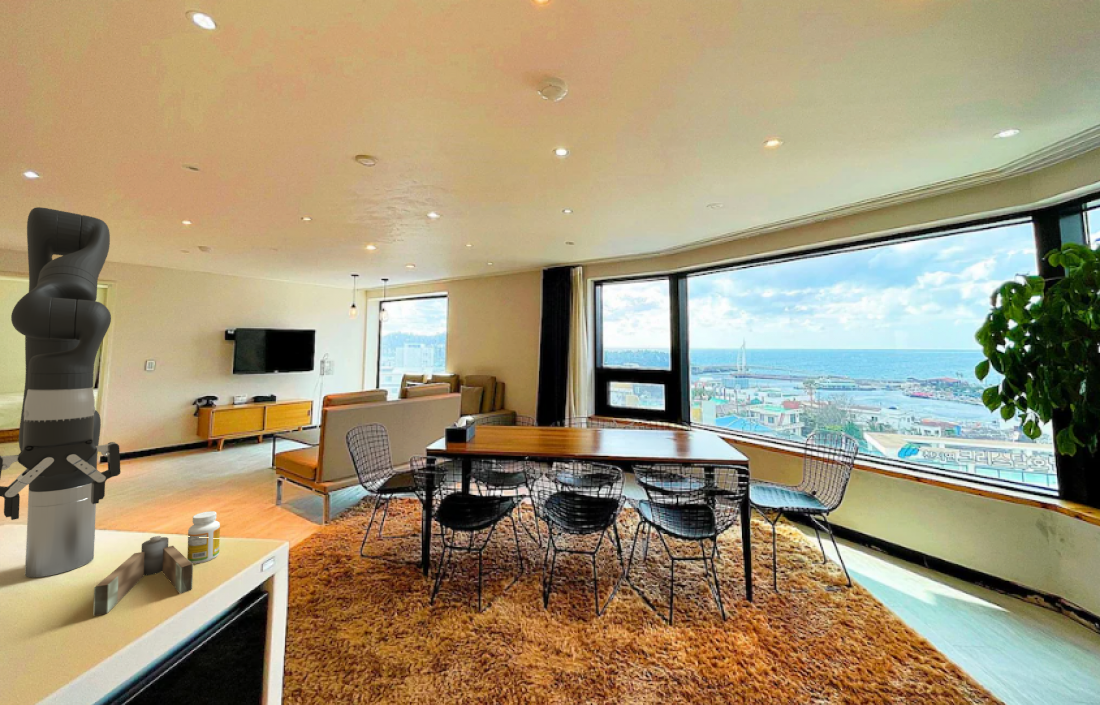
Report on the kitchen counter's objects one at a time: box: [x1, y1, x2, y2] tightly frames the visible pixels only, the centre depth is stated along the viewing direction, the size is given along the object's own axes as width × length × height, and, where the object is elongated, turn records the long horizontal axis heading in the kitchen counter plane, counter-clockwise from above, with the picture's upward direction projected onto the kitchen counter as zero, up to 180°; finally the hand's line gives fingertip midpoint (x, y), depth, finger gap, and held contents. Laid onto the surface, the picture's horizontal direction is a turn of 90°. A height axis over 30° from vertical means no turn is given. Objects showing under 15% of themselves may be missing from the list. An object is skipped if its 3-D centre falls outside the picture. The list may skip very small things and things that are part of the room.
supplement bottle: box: [186, 511, 221, 564], centre depth 88 cm, size 5×5×10 cm
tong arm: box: [93, 551, 145, 617], centre depth 74 cm, size 13×2×5 cm, turn 26°
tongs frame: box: [140, 535, 194, 595], centre depth 79 cm, size 18×4×7 cm, turn 56°
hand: (56, 510), depth 67 cm, fingers open, 8 cm apart
